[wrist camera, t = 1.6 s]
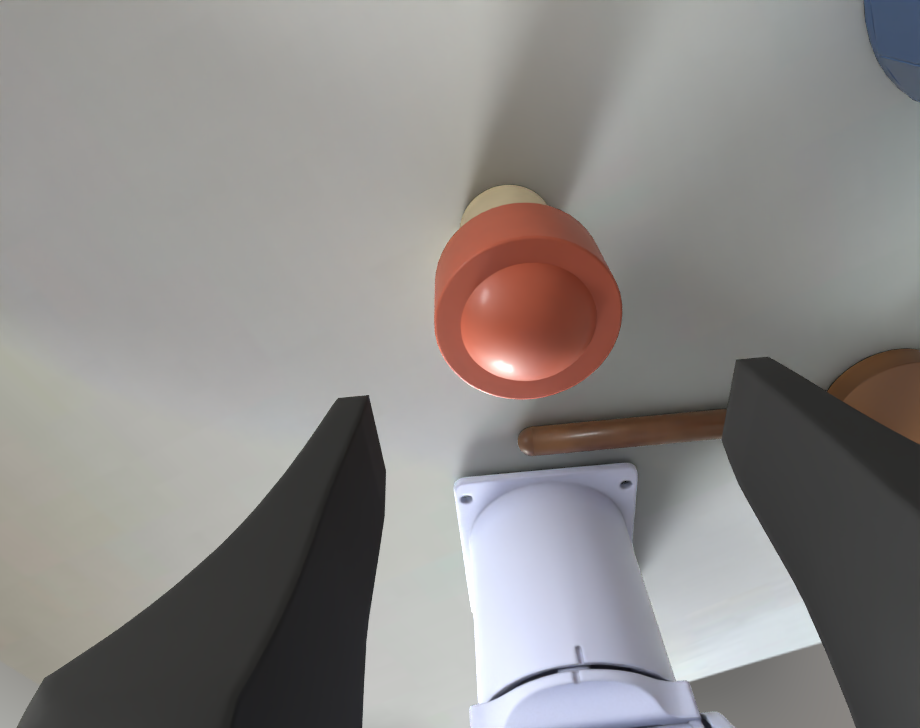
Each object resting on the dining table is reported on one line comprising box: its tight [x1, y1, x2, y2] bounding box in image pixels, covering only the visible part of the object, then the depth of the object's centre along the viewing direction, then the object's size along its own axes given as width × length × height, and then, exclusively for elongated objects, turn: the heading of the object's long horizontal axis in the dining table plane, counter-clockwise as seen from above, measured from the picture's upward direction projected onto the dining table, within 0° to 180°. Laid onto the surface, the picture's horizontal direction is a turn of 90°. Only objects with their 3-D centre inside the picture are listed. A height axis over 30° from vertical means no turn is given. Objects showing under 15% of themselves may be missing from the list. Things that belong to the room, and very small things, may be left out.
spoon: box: [518, 349, 920, 456], centre depth 25 cm, size 18×5×1 cm, turn 96°
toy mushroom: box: [434, 185, 622, 399], centre depth 18 cm, size 5×5×7 cm
